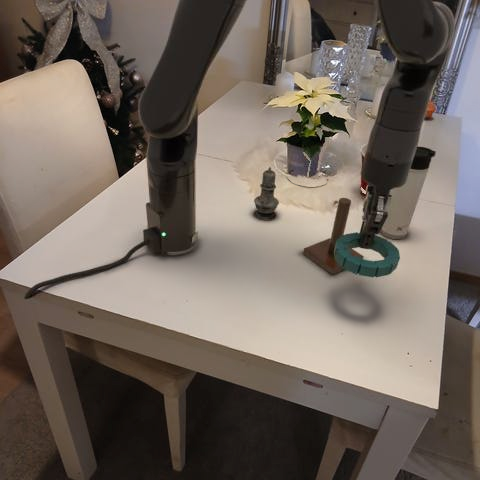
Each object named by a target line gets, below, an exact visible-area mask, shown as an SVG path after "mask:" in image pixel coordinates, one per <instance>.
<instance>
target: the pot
mask: <svg viewBox="0 0 480 480" xmlns="http://www.w3.org/2000/svg"><path fill="white" fill-rule="evenodd" d="M436 110H437V108H436V105H435V103H433V101H432V100H431V99H430V101H429V105H428V108H427V112H426V115H425V117H428V119H431V118H432V117H433V115H434V113H435V112H436Z"/></svg>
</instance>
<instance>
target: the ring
mask: <svg viewBox="0 0 480 480" xmlns="http://www.w3.org/2000/svg"><path fill="white" fill-rule="evenodd" d="M361 235H362V233H361V232H360V231H359V232H358V231H356V232H350V233H344V235H343V236H342V237H340V238H339V239H338V240H337V241H336V244H335V249H334V258H335V260H336V261H337V263H338V264H339V265H340V266H341V267H344V268H343V269H345V270H346V271H348V272H349V273H352V274H354V275H358V276H361V277H366V278H367V277H368V278H372V279H373V278H381V277H386V276H389V275H391V274H392V273H394V271H395V270H396V269H397V268H398V265H399V262H400V259H401V255H400V250H399V248H398V247H397V246H396V245H395V244H394V243H392V241H390V240H388V238H384V237H382V236H379V235H378V234H375V237H374V240H373V244H372V247H371V249H370V250H371V251H373V252H376V253H378V254H379V255H380V256H381V257H382V258H383V259H380V260H369V259H364V258H363V259H361V258H358V257H356V256H354V255H353V254H352V253H351V252H350V251H349V249H356V248H360V247H359V242H360V239H361Z"/></svg>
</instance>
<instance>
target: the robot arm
mask: <svg viewBox="0 0 480 480" xmlns="http://www.w3.org/2000/svg"><path fill="white" fill-rule="evenodd" d="M247 1H248V0H178V2H177V5H176V8H175V11H174V16H173V19H172V22H171V26H170V30H169V33H168V36H167V39H166V43H165V46H164V49H163V51H162V53H161V55H160V58H159V60H158V62H157V64H156V66H155V67H154V70H153V72H152V74H151V77H149V80H148V82H147V84H146V86H145V88H144V89H143V90H142V92H141V94H140V97H139V100H138V105H137V106H138V117H139V120H140V123H141V125H142V127H143V129H144V130H145V132H147V134H148V144H147V148H146V155H145V157H146V161H145V162H146V169H147V170H146V171H147V172H146V173H147V186H148V197H149V199H148V200H149V202H146V203H145V211H146V225H147V228H144V229H143V230H142V234H143V241H141V242H140V243H138V244H136V245H135V246H133V247H132V248H130V249H129V250H128V252H127V253H126V254H125V255H124V256H123V257H122V258H120V259H118V260H116V261H114V262H111V263H108V264H104V265H101V266H96V267H93V268H90V269H85V270H82V271H78V272H72V273H68V274H64V275H61V276H57V277H54V278H51V279H47V280H44V281H41V282H37V283H36V284H34V285H33V286H32V287H30V289H29V290H27V292H26V294H25V295H24V297H23V299H24V300H28V299H30V298H31V297H32V295H34V293H36V292H37V291H38V290H40V289H41V288H44V287H47V286H50V285H51V286H52V285H54V284H57V283H60V282H63V281H66V280H70V279H76V278H79V277H84V276H88V275H92V274H95V273H98V272H102V271H106V270H109V269H112V268H115V267H118V266H120V265H122V264H123V263H125V262H127V261H128V260H129V259H130V258H131V257H132V255H133V254H135V253H136V252H137V251H139V250H140V249H142V248H143V247H145V246H147V247H148V248H149V249H150V250H151V251H152V252H153V253H156V252H157V253H158V254H159V255H160V256H161V257H166V256H182V255H186V254H189V253H191V252H192V251H193V250H194V249H195V248H196V247H197V238H198V237H199V231H198V230H197V229H196V228H197V203H196V202H197V200H196V199H197V198H196V197H197V196H196V195H197V192H196V190H197V189H196V187H197V186H196V185H197V184H196V183H197V181H196V180H197V179H196V178H197V177H196V176H197V175H196V174H197V172H196V169H197V168H196V160H197V151H198V138H199V137H198V133H199V132H198V131H199V103H198V95H199V94H200V90H201V87H202V85H203V83H204V80H205V77H206V75H207V74H208V70H209V68H210V67H211V65H212V63H213V61H214V60H215V59H216V56H217V55H218V53H219V52H220V50H221V48H222V47H223V45H224V43H225V42H226V40H227V38H228V37H229V36H230V33H231V32H232V30H233V28H234V26H235V24H236V23H237V21H238V19H239V18H240V15H241V13H242V12H243V9H244V7H245V5H246V3H247ZM373 2H374V5H375V9H376V14H377V16H378V20H379V22H380V25H381V29H382V32H383V35H384V37H385V40H386V42H387V45H388V47H389V49H390V51H391V52H392V54H393V55H394V56H395V58H396V61H395V64H394V69H393V71H392V74H391V76H390V78H389V80H388V81H387V82H386V84H385V86H384V87H383V90H382V92H381V96H380V100H379V103H378V108H377V112H376V116H375V119H374V123H373V125H372V128H371V131H370V133H369V137H368V141H367V143H368V145H367V149H366V153H365V157H364V161H363V165H362V164H361V168H362V169H361V170H360V178H361V177H362V179H363V180H364V181H366V182H367V183H368V185H367V187H366V196H365V197H364V200H363V205H362V213H363V214H362V216H361V219H362V220H361V221H362V222H361V226H360V230H359V232H361V233H362V235H361V239H360V242H359V247H358V248H360V249H363V250H371V247H372V244H373V240H374V237H375V235H377V236H379V235H380V234H381V232H380V231H381V229H382V227H383V225H384V223H385V221H386V219H387V217H388V212H386V210H387V207H388V206H389V205H390V202H391V198H392V195H390V191H391V189H394V188H399V187H401V186H403V185H404V184H405V183H406V180H407V177H408V174H409V171H410V168H411V165H412V162H413V158H414V155H415V152H416V149H417V147H419V142H420V136H421V133H422V132H421V131H422V128H423V124H424V121H425V118H426V116H425V115H426V112H427V108H428V105H429V101H430V100H431V96H432V93H433V90H434V87H435V85H436V82H437V80H438V79H439V78H438V77H439V76H440V74H441V71H442V69H443V66H444V64H445V61H446V59H447V56H448V54H449V51H450V49H451V47H452V43H453V39H454V35H455V30H456V22H455V17H454V14H453V11H452V9H450V8H449V6H448V5H446V4H444V3H443V2H440V1H433V0H373Z"/></svg>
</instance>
